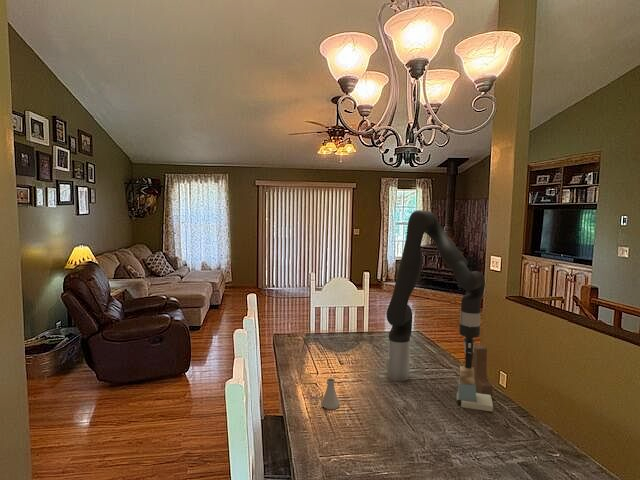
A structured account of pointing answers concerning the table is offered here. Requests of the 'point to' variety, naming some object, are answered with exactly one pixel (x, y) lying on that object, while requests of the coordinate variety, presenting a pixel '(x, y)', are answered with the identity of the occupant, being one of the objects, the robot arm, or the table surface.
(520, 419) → the table surface
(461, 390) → the cube
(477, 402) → the foundation board
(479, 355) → the wooden block
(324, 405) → the flask
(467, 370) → the oak block
